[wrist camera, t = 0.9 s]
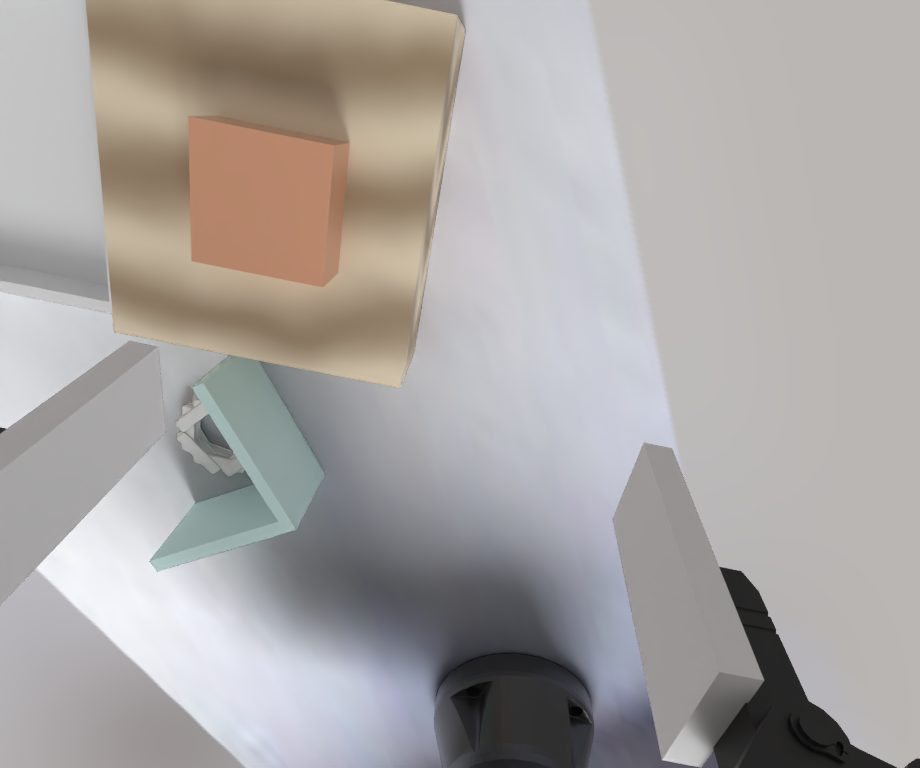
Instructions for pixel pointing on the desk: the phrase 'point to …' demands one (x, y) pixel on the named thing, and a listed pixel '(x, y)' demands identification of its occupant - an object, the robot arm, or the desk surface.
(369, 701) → the desk surface
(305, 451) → the l-shaped corner panel
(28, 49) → the box
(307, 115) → the plate
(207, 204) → the tile
